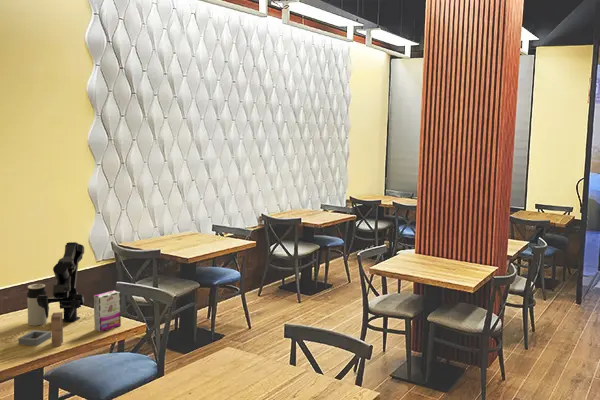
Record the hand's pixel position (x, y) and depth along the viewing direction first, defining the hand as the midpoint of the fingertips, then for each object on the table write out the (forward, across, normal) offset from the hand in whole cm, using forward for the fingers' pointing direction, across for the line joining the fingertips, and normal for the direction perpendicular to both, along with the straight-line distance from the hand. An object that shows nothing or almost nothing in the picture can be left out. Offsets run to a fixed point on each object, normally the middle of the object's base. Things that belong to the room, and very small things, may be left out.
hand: (58, 317), depth 249 cm
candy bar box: (-3, +18, +18) cm, 26 cm away
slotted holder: (+6, -10, +9) cm, 14 cm away
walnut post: (+10, 0, +5) cm, 11 cm away
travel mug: (-10, -14, +25) cm, 30 cm away
